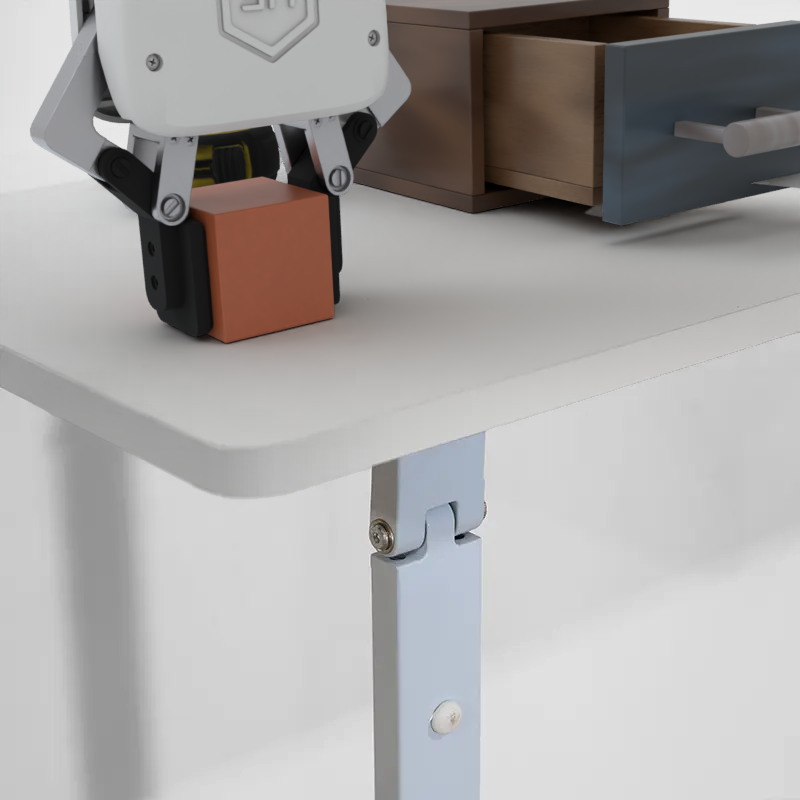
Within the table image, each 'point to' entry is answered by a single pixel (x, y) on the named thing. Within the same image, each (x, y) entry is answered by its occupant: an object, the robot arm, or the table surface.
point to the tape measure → (236, 156)
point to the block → (265, 256)
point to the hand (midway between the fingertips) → (249, 306)
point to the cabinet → (456, 96)
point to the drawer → (641, 111)
